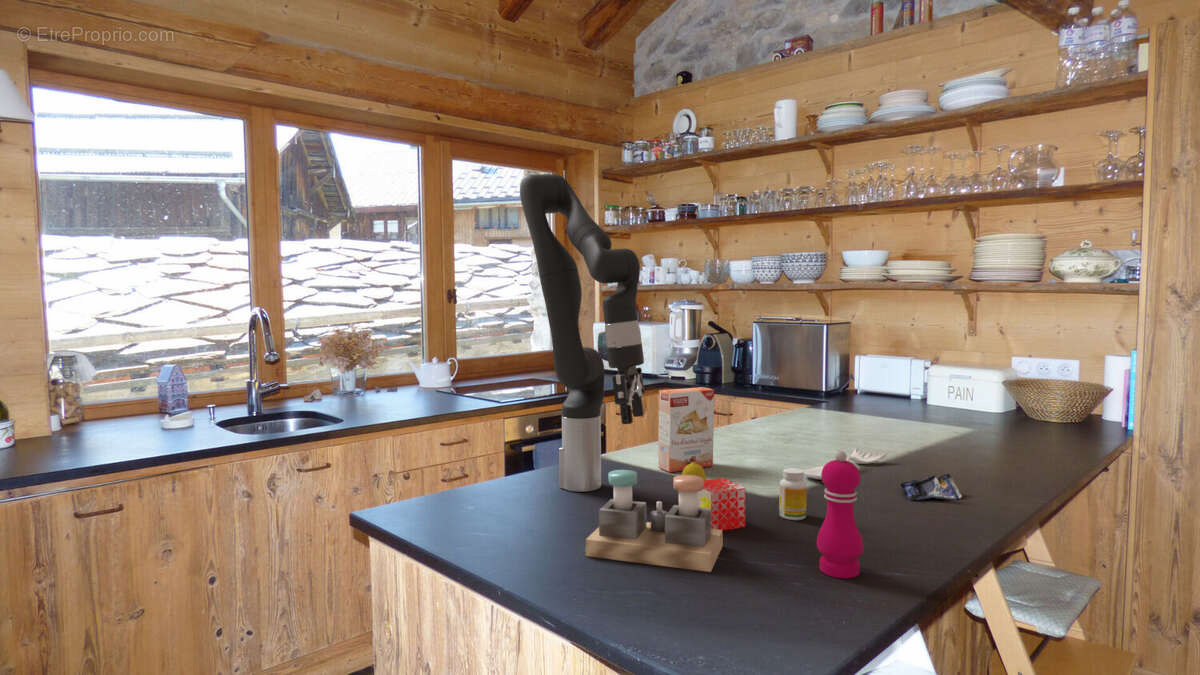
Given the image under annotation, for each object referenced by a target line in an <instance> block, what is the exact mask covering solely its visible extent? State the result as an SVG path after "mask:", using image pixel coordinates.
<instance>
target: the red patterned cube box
mask: <svg viewBox="0 0 1200 675" xmlns="http://www.w3.org/2000/svg"><path fill="white" fill-rule="evenodd" d="M698 507H699V508H709V509H711V529H717V530H724V531H729V529H730V530H735V528H736V529H741V527H742V528H745V527H746V487H745V486H742V485H740V484H737V483H735V482H733V481H731V480H728V479H726V478H723V477H720V478H714V479H711V478H710V479H706V480H704V481H703V490H701V491H698ZM727 529H728V530H727Z"/></svg>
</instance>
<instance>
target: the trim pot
mask: <svg viewBox="0 0 1200 675" xmlns="http://www.w3.org/2000/svg"><path fill="white" fill-rule="evenodd" d="M668 512H669V511H666V510H663V502H662V501H660V500H659V501H656V510H651V511H650V522H651V530H652V531H654V532H665V516H666V515H667V513H668Z"/></svg>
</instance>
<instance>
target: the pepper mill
mask: <svg viewBox="0 0 1200 675" xmlns="http://www.w3.org/2000/svg"><path fill="white" fill-rule="evenodd" d="M847 457H848V456H847V454H846V452H845V451H843V450H839V451H837V452H836V453H835V456H834V458H835V459H833V460H829V461H828V462H826V463H825V464H824V465H823V466H824V467H823V470H822V474H821V477H822V480H821V481H822V483H823V484H824V485H825V487H826V488H824V494H823V495H824V496H823V497H824V499H826V505H827V506H826V507H827V508H826V513H825V514H826V515H825V517H824V520H823V523H822V524H821V526H820V529H819V531H818V533H817V537H816V548H817V550H818V551H819V552H820V554H821V556H820V557H819V571H821V572H822V573H823V574H824V575H827V576H828V577H833V578H838V579H853V578H856V577H858V576H859V575H860V573H861V571H860V570H861V567H860V566H861V565H860V564H861V563H860V561H859V557H861V555H862V554H863V552H864V541H863V537H862V535H861V532H860V529H859V528H858V526H857V523H856V520H855V515H854V514H855V513H854V505H855V502H856V501H857V500H858V498H857V494H858V492H857V491H856V488H857V487H859V485H860V484H861V483H860V482H861V473H860V470H859V469H858V467H857V466H856V465H855V464H853V462H852V461H850V462H849V461H845V460H846V458H847Z"/></svg>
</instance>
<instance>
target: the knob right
mask: <svg viewBox="0 0 1200 675" xmlns="http://www.w3.org/2000/svg"><path fill="white" fill-rule="evenodd" d="M672 483H673V490H675V491H678V506H679V516H685V517H695V518H698V491H701V490H703V478H702V477H699V476H695V475H682V474H680V475H676V476H674V477H673V482H672Z"/></svg>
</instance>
